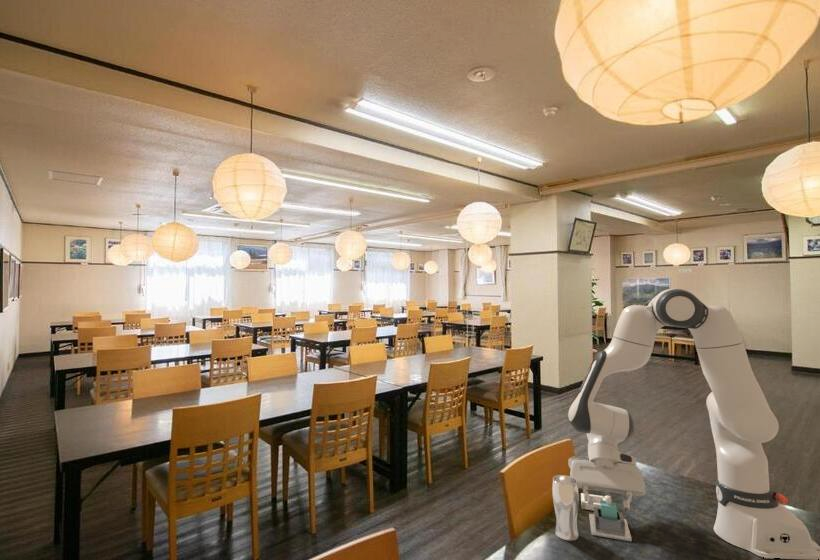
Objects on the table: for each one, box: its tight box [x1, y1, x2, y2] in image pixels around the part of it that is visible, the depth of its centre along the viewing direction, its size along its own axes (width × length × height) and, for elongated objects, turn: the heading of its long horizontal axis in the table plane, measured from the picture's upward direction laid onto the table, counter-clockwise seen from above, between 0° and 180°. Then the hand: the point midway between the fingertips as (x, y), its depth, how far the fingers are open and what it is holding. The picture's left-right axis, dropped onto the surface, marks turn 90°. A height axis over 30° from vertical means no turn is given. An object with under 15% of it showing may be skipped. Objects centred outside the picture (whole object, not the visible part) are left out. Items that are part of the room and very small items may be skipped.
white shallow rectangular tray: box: [580, 492, 606, 512], centre depth 130 cm, size 8×6×2 cm
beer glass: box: [551, 474, 580, 542], centre depth 115 cm, size 7×7×15 cm
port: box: [588, 507, 632, 543], centre depth 117 cm, size 10×10×4 cm
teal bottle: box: [600, 494, 618, 519], centre depth 117 cm, size 4×3×8 cm
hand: (608, 506), depth 117 cm, fingers open, 8 cm apart
